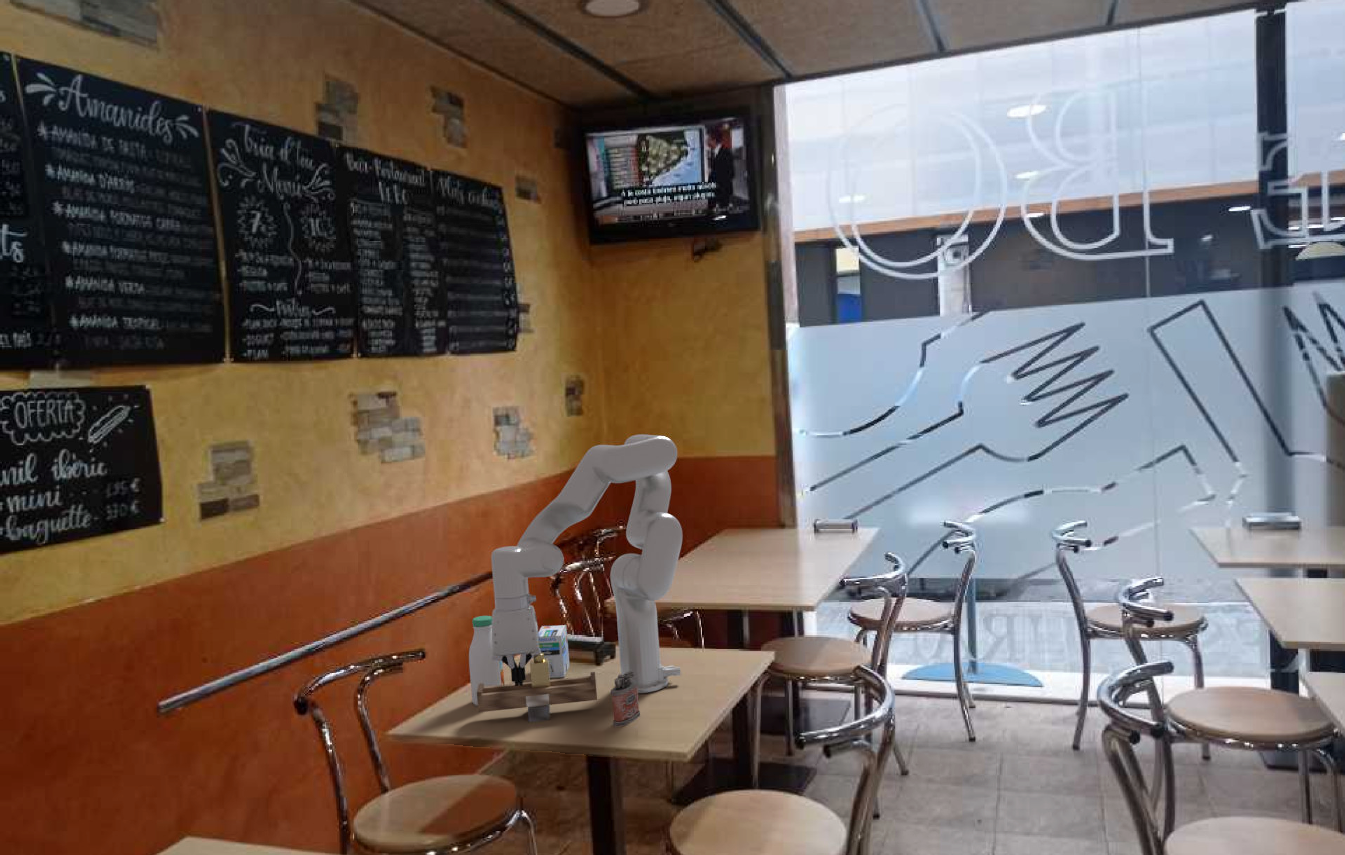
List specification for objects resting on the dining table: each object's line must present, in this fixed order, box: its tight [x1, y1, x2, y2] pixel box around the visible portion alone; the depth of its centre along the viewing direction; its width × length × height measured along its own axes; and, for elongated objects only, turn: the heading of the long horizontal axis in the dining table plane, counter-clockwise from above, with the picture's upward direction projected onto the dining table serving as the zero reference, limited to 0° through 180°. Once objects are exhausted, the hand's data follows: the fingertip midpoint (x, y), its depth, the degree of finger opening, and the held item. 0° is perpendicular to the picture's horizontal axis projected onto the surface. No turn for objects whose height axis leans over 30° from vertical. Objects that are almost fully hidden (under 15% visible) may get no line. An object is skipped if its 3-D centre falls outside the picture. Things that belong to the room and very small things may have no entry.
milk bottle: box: [468, 615, 506, 707], centre depth 234 cm, size 8×8×20 cm
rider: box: [529, 653, 551, 688], centre depth 222 cm, size 4×3×8 cm
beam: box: [477, 671, 598, 723], centre depth 222 cm, size 26×8×8 cm, turn 96°
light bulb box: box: [538, 624, 570, 679], centre depth 253 cm, size 11×7×11 cm, turn 179°
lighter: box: [610, 671, 641, 727], centre depth 215 cm, size 8×3×10 cm, turn 148°
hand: (519, 683), depth 222 cm, fingers closed
